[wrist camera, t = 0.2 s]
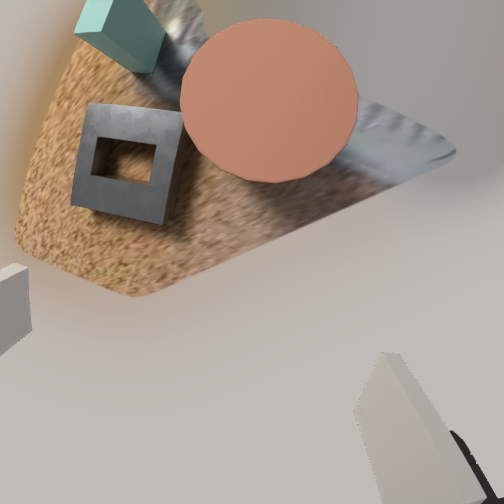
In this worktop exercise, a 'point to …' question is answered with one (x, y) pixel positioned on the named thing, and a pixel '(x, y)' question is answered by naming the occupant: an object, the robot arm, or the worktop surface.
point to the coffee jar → (269, 100)
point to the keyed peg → (122, 32)
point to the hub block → (125, 189)
